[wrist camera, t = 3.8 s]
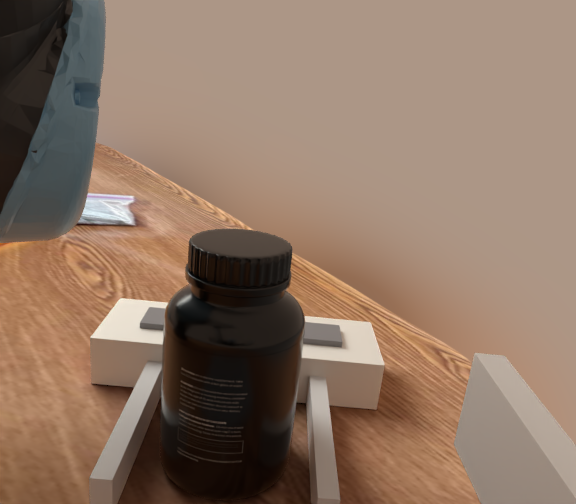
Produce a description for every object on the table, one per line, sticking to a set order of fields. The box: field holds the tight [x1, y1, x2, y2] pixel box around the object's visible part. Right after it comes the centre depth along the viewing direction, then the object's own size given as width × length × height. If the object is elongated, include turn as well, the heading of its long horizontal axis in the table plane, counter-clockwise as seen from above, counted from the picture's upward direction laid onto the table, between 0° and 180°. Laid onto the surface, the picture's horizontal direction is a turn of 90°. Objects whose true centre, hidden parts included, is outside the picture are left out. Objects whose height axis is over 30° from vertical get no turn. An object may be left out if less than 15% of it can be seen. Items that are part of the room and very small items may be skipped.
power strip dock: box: [89, 298, 385, 504], centre depth 31 cm, size 18×16×4 cm
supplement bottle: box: [160, 229, 305, 501], centre depth 26 cm, size 7×7×12 cm
